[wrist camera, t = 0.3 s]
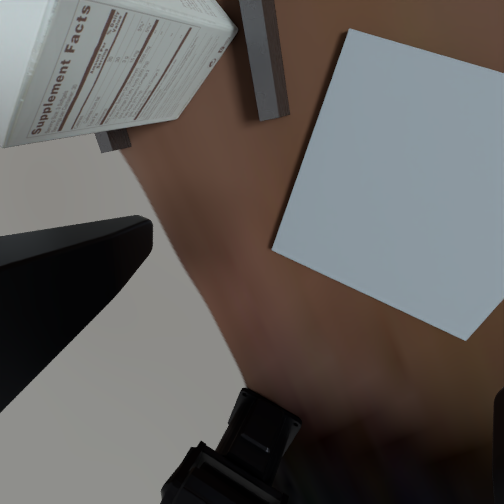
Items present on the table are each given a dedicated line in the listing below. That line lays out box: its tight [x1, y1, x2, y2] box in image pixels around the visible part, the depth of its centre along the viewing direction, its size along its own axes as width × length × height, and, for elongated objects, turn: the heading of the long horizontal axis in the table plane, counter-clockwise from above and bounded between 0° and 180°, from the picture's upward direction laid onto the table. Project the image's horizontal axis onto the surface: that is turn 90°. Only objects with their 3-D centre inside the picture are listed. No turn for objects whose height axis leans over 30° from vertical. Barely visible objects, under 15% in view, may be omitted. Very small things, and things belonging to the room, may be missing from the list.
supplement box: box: [0, 0, 238, 148], centre depth 16 cm, size 7×7×13 cm
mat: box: [272, 29, 504, 341], centre depth 19 cm, size 14×14×1 cm
